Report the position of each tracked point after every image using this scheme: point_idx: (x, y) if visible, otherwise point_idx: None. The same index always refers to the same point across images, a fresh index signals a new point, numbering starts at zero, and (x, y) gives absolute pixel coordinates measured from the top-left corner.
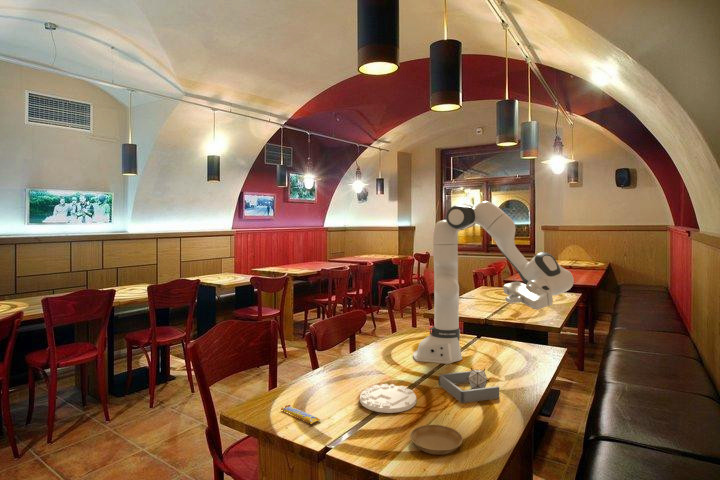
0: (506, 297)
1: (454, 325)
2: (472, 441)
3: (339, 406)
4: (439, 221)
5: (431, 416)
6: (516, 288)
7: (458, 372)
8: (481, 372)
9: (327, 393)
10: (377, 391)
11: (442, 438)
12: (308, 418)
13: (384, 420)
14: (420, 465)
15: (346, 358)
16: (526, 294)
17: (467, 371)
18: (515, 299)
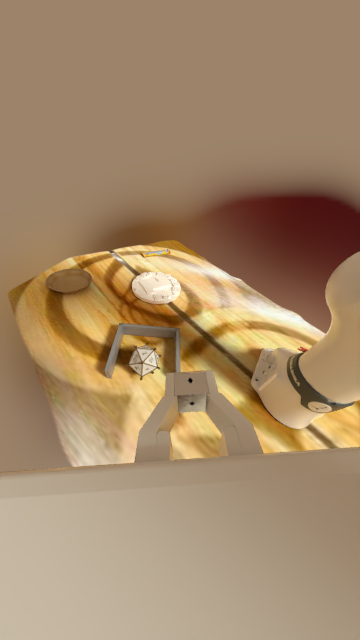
0: (207, 371)
1: (313, 376)
2: (53, 302)
3: (161, 268)
4: None
5: (112, 299)
6: (356, 557)
7: (179, 351)
8: (138, 356)
9: (185, 269)
10: (165, 281)
11: (74, 289)
12: (146, 252)
13: (126, 277)
14: (58, 269)
15: (266, 298)
16: (86, 544)
17: (179, 364)
18: (157, 410)
